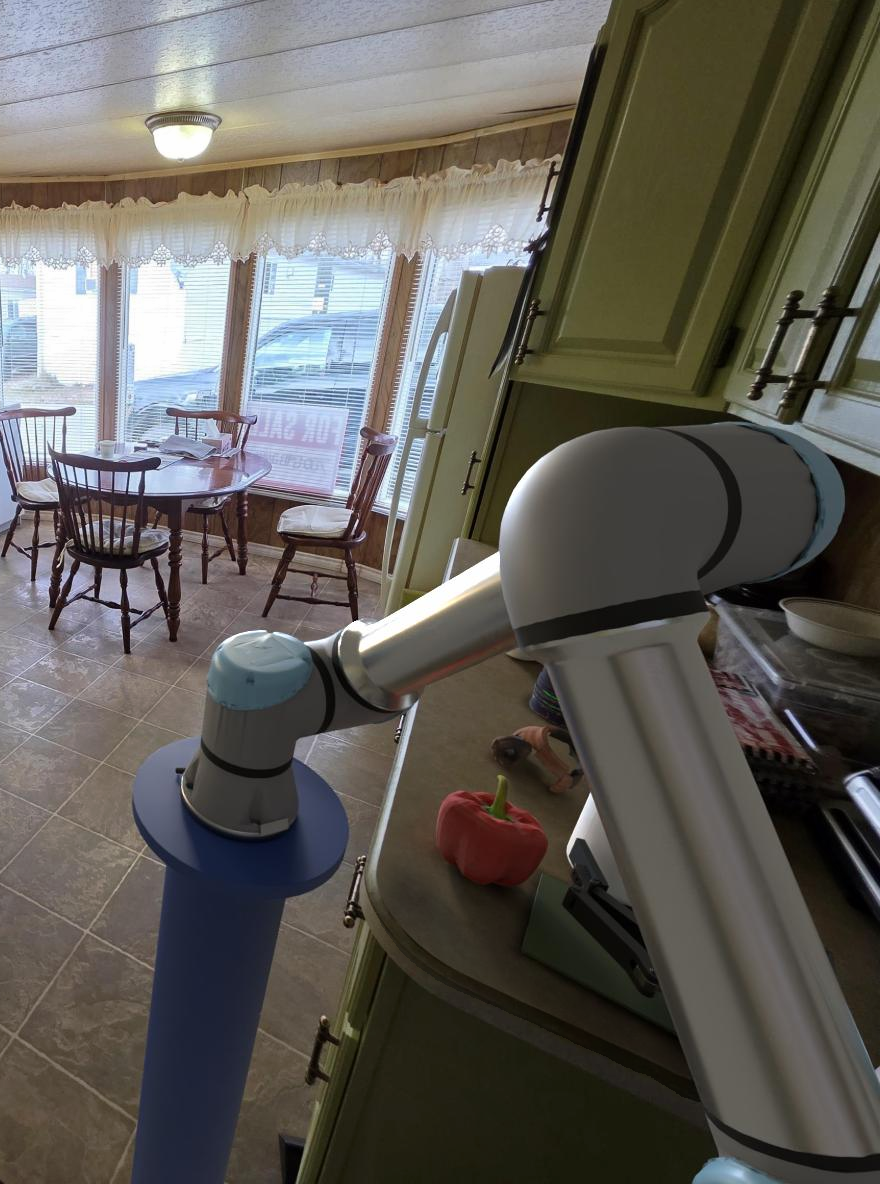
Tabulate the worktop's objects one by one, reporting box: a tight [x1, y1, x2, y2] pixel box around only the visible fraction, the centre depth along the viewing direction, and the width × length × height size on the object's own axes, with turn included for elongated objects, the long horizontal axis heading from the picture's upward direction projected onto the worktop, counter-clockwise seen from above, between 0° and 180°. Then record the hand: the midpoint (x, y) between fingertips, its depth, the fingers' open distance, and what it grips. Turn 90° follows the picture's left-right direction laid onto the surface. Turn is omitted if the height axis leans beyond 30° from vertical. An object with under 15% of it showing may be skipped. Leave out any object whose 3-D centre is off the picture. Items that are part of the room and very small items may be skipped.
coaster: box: [520, 872, 678, 1037], centre depth 65 cm, size 13×13×1 cm
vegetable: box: [435, 774, 549, 888], centre depth 72 cm, size 11×10×10 cm
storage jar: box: [528, 666, 567, 728], centre depth 101 cm, size 10×10×15 cm
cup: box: [566, 791, 632, 908], centre depth 71 cm, size 10×10×10 cm
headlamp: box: [490, 724, 585, 794], centre depth 89 cm, size 12×10×8 cm
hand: (651, 864), depth 67 cm, fingers open, 13 cm apart
